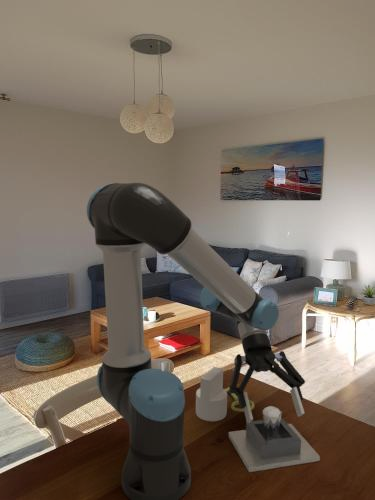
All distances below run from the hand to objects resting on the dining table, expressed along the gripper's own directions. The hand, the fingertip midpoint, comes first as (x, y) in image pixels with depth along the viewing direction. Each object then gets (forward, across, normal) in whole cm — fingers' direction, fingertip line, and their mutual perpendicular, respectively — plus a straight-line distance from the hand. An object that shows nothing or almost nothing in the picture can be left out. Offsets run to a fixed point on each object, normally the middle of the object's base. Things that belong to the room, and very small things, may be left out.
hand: (276, 418), depth 97 cm
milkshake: (+5, 0, -6) cm, 8 cm away
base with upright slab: (-8, +10, -20) cm, 24 cm away
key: (-10, +1, -24) cm, 26 cm away
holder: (+5, 0, -7) cm, 9 cm away
